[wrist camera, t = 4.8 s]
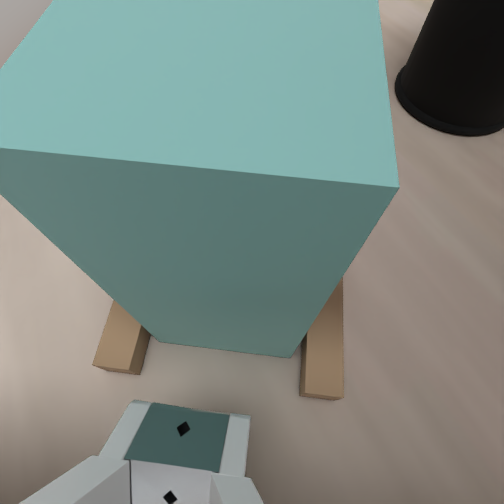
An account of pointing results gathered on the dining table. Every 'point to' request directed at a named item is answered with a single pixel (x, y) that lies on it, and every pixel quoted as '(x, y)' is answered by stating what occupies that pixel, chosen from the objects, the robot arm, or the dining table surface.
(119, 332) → the channel
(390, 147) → the teal rectangular block
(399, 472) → the dining table surface
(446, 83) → the aerosol can
